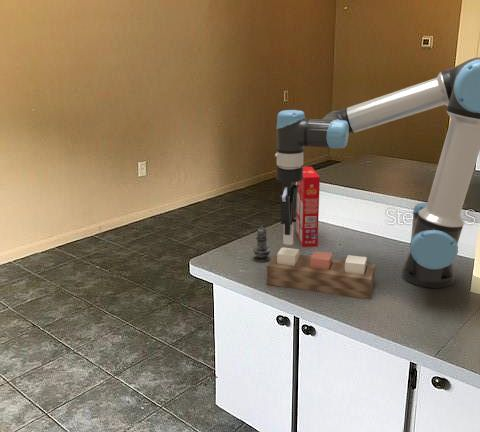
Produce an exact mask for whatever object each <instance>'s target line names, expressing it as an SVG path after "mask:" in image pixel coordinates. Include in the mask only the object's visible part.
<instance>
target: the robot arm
mask: <svg viewBox="0 0 480 432" xmlns="http://www.w3.org/2000/svg"><path fill="white" fill-rule="evenodd" d="M442 106H446V107H447V109H446V113H447V114H448V116H449V119H450V122H449V125H448V128H447V132H446V135H445V140H444V143H443V146H442V151H441V153H440V157H439V161H438V163H437V168H436V170H435V171H436V172H435V174H434V178H433V182H432V185H431V189H430V192H429V196H428V199H427V202H419V203H416V204H415V205H414V207H413V211H412V214H413V216H412V228H411V237H410V243H409V252H408V255H407V256H406V259H405V261H404V263H403V264H402V269H401V277H402V278H403V279H404V280H405V281H407V282H408V283H410V284H413V285H415V286H418V287H422V288H423V287H424V288H431V289H439V288H446V287H450V286H451V285H453V284H454V283H455V279H456V272H455V268H454V261H455V259H456V258H457V256H458V253H459V246H458V244H459V239H460V237H461V234H462V230H463V228H464V224H465V221H464V220H463V219H462V217H461V212H462V209H463V206H464V203H465V199H466V196H467V193H468V190H469V187H470V184H471V180H472V177H473V173H474V170H475V167H476V163H477V161H478V158H479V155H480V57H474V58H470V59H468V60H465V61H463V62H461V63H460V64H458V65H456V66H453V67H450V68H448V69H446V70H443V71H440V72H439V74H438V75H437V77H434V78H432V79H431V78H430V79H429V80H426V81H423V82H420V83H417V84H414V85H411V86H408V87H404V88H401V89H400V90H395V91H393V92H391V93H387V94H384V95H381V96H378V97H374V98H372V99H368V100H367V101H363V102H361V103H360V102H359V103H357V104H354V105H351V106H348V107H346V108H343V109H340V110H333V111H330V112H328V113H327V114H325V115H324V117H323V118H322V119H321V118H319V119H316V118H306V116H305V112H304V111H303V110H297V109H286V110H281V111H279V112H278V113H277V120H276V121H277V122H276V128H275V129H276V153H275V154H274V157H275V158H276V165H277V166H276V168H275V170H276V172H275V173H276V175H275V176H276V177H275V179H276V180H277V181H279V182H282V186H281V187H280V193H281V194H279V196H278V197H279V203H280V204H279V205H280V220H281V221H280V224H282V225H283V226H282V227H283V229H282V230H283V233H282V234H283V237H282V238H283V239H282V244H283V245H288V246H292V245H293V244H294V230H295V229H294V226H295V224H294V223H296V221H297V219H296V205H297V192H298V187H299V186H298V185H297V182H298V181H301V180H302V179H303V168H302V167H303V165H304V147H311V148H312V147H313V148H323V149H325V148H326V149H332V150H333V149H344V148H346V147H347V145H348V141H349V135H352V134H355V133H358V132H361V131H364V130H368V129H371V128H375V127H377V126H381V125H383V124H387V123H390V122H393V121H396V120H401V119H403V118H406V117H409V116H413V115H416V114H418V113H423V112H425V111H429V110H432V109H435V108H437V107H442Z"/></svg>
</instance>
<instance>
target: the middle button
mask: <svg viewBox="0 0 480 432" xmlns="http://www.w3.org/2000/svg"><path fill="white" fill-rule="evenodd" d="M310 256H311V258H310V268H315V269H323V270H330V268H331V266H332V259H333V252H325V251H318V250H317V251H316V250H314V251H313V253H312V254H311V255H310Z"/></svg>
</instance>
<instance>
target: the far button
mask: <svg viewBox="0 0 480 432" xmlns="http://www.w3.org/2000/svg"><path fill="white" fill-rule="evenodd" d="M277 252H278V253H277ZM277 252H276V253H277V264H284V265H291V266H296V264H297V263H298V261H299V255H300V249H298V248H292V247H291V248H289V247H285V246H284V247H281V248H280V249H279V250H278V251H277Z"/></svg>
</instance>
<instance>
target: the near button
mask: <svg viewBox="0 0 480 432" xmlns="http://www.w3.org/2000/svg"><path fill="white" fill-rule="evenodd" d="M345 260H346V261H345V272H346V273H354V274H362V275H365V272H366V263H368V262H367V261H368V257H367V256H360V255H359V256H358V255H351V254H348V255H347V257H346V258H345Z"/></svg>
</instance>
